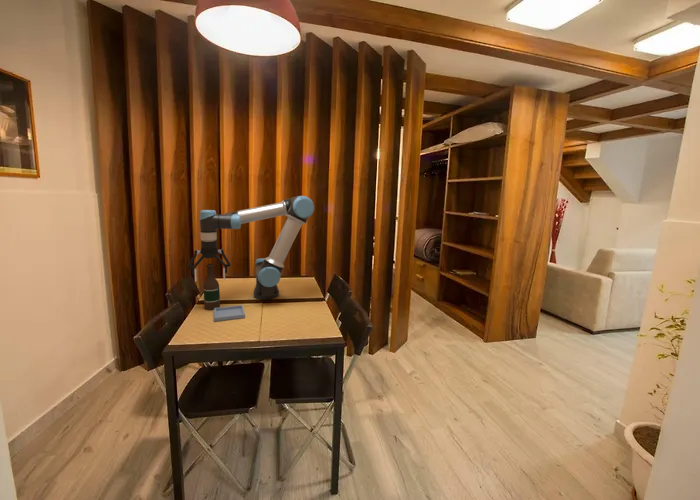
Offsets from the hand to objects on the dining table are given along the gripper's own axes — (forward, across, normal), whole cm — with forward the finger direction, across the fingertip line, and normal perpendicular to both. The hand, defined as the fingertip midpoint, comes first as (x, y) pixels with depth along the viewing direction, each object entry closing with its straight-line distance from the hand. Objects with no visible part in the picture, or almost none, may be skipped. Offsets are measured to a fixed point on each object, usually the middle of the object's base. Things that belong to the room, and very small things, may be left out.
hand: (210, 280), depth 164 cm
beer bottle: (+16, 0, 0) cm, 16 cm away
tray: (+15, -8, +13) cm, 22 cm away
